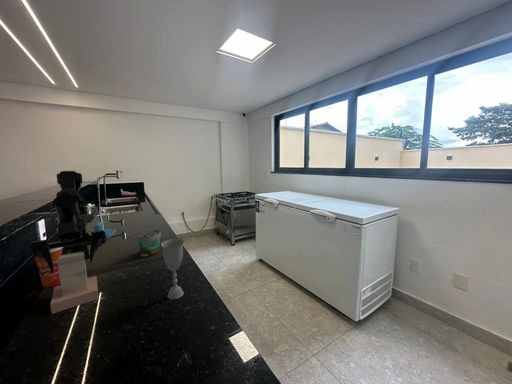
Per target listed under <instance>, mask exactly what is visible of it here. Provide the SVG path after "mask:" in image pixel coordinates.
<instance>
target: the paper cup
mask: <svg viewBox="0 0 512 384" xmlns="http://www.w3.org/2000/svg"><path fill="white" fill-rule="evenodd" d="M63 248H64V247H60V248H55V249H50V253H51V255H52V260H53V266H54V272H52V271H51V269H50V267H49V265H48V263H47V262H46V261H45V260H44V258H41V259H39V258H38V257H34V258H35V262H36V266H37V270H38V273H39V279H40V282H41V285H42V287H43V288H51V287H56V286H58V285H60V284H61V282H60V275H59V268H58V260H59V257H60V256H61V255H63Z"/></svg>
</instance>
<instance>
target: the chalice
mask: <svg viewBox="0 0 512 384" xmlns="http://www.w3.org/2000/svg"><path fill="white" fill-rule="evenodd" d="M184 243H185V241H184V240H183V239H182V238H172V239H170V238H169V239H167V240H165V241H162V242H161V244H160V245H161V246H160V247H162V253H163V254H162V256H163V261H164V264H165V265H166V267H167V269H168V270H169V271H170V272H172V275H171V276H172V281H171V282H172V285H173V286H172V287H171V288H170V289H169V292H168V293H167V298H168V299H169V300H177V299H180V298H181V297H183V295H184V294H185V293H184V291H183V289H182V287H181V286H180V285H178V281H179V280H178V279H177V277H178V274H177V271H178V270H179V268H180V266H181V263H182V260H183V257H184V250H183V247H184V246H183V245H184Z"/></svg>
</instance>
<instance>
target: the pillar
mask: <svg viewBox="0 0 512 384" xmlns="http://www.w3.org/2000/svg"><path fill="white" fill-rule="evenodd" d="M86 265H87V264H86V260H85V256H84V251H81V252H76V253H71V254H69V253H68V254H62V255H61V256H60V257H59V260H58V268H59V275H60V282H61V283H60V285H61V289H62V296H63V297H64V296H67V295H71V294H74V293H77V292H81V291H84V290H88V281H87V278H88V275H87V274H88V273H87V266H86Z"/></svg>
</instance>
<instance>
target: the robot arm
mask: <svg viewBox="0 0 512 384" xmlns="http://www.w3.org/2000/svg"><path fill="white" fill-rule="evenodd" d="M56 182H57V185H59V186H60V191H58V192H56V195H55V198H53V200H52V201H53V202H52V207H53V209H55V211H56V214H57V217H58V224H57V226H56V227H57V240H59V241H55V242H49V240H48V239H40V240H35V241H31V242H30V243H29V244H28V251H29V253H30V255H31V256H32V258H35V257H38V258H39V259H41V258H44V260H45V261H46V262H47V263H48V265H49V267H50V269H51V271H52V272H54V266H53V260H52V255H51V253H50V249H55V248H60V247H63V248H64V251H68V254H71V253H76V252H81V251H84V256H85V261H86V260H87V259H89V261H90V262H89V263H90V264H92V263H93V261H94V258H95V255H96V252H97V251H98V249H99V247H102V246H103V245H105V244H107V240H106V234H105V231H103V230H101V231H95V230H94V231H95V232H94V231H91V232H90V234H89V232H88V231H87V226H86V225H87V224H86V218H81V212H80V209H81V208H82V207H83V205H84V204H85V199H84V198H83V197H82V195H81V196H80V193H79V192H80V190H82V189H81V188H82V184H83V183H84V182H83V174H82V173H79V172H77V171H76V170H62V171H59V172H58V173H57V174H56ZM88 246H90V250H89V247H88Z"/></svg>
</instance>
